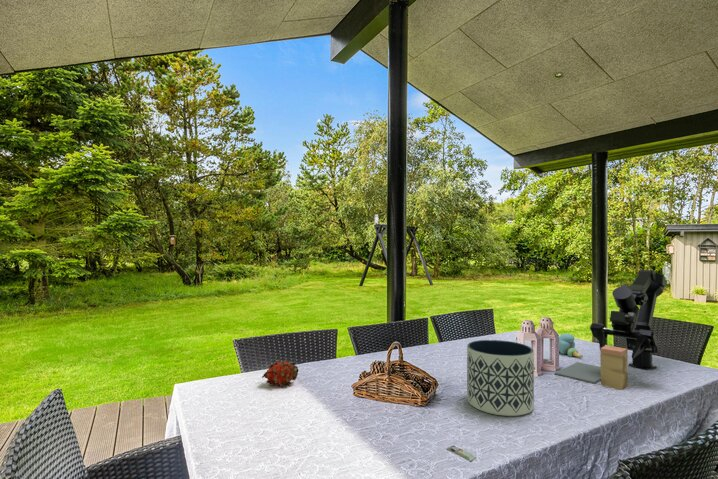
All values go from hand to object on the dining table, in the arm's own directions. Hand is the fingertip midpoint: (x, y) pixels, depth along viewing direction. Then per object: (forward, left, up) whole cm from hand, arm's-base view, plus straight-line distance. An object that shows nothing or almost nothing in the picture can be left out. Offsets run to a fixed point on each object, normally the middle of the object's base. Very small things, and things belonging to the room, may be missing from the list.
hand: (616, 354), depth 133 cm
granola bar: (+75, +19, -10) cm, 78 cm away
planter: (+48, 0, -10) cm, 49 cm away
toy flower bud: (-15, -30, -10) cm, 35 cm away
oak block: (+2, +1, -9) cm, 10 cm away
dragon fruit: (+104, -39, -10) cm, 112 cm away
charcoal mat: (0, -12, -9) cm, 15 cm away
